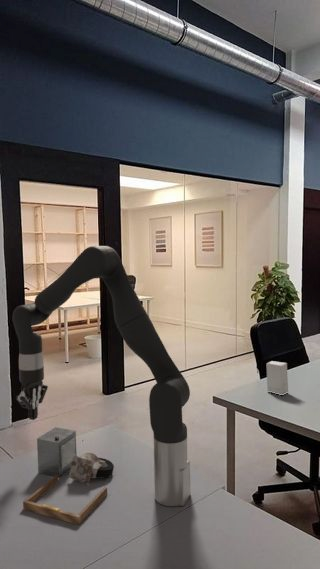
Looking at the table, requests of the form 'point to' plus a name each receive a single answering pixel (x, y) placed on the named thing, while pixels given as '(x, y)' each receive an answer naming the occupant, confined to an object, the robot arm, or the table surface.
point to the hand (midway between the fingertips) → (33, 418)
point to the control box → (56, 451)
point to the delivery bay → (56, 512)
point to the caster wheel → (90, 468)
